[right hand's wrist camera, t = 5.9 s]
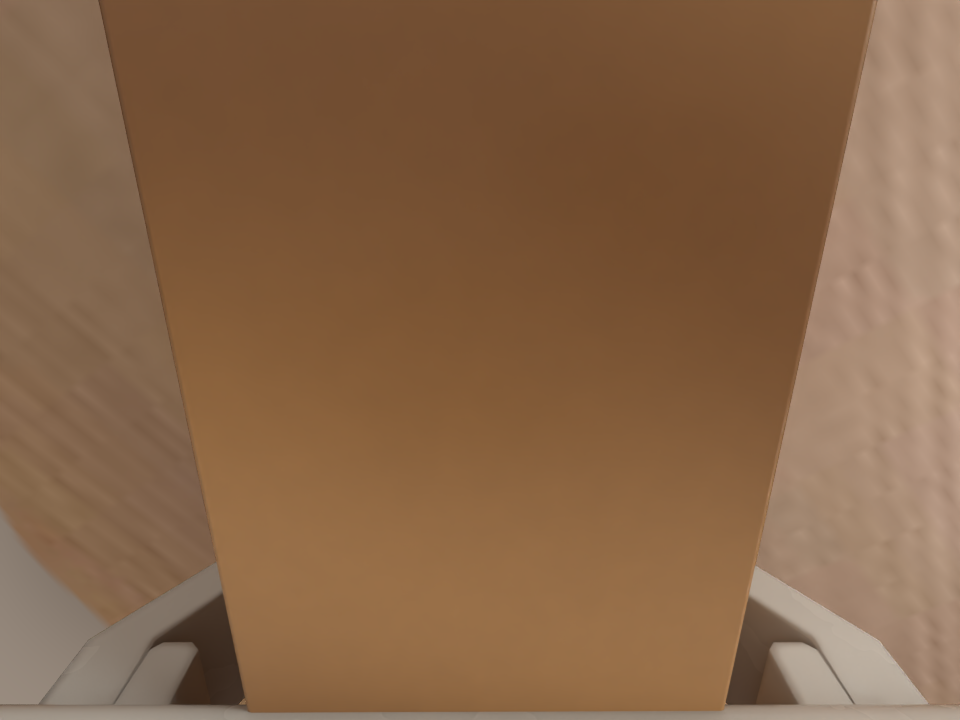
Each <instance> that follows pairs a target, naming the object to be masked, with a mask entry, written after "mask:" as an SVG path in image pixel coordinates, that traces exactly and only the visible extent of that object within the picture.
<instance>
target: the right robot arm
mask: <svg viewBox="0 0 960 720" xmlns="http://www.w3.org/2000/svg"><path fill="white" fill-rule="evenodd" d="M244 698H245V696H244V691H243V686H242V681H241V677H240V672H239V667H238V662H237V658H236V653H235V648H234V643H233V638H232V634H231V629H230V624H229V619H228V615H227V610H226V605H225V600H224V596H223V591H222V586H221V581H220V576H219V572H218V567H217V562H215V563H213V564H212V565H210V566H208V567H207V568H205V569H204V570H202V571H200V572H199V573H197V574H195V575H194V576H192V577H190V578H189V579H187V580H186V581H184V582H182V583H181V584H179V585H177V586H176V587H174V588H172V589H171V590H169V591H167V592H166V593H164V594H163V595H161V596H159V597H158V598H156V599H154V600H153V601H151V602H149V603H148V604H146V605H145V606H143V607H141V608H140V609H138V610H136V611H135V612H133V613H131V614H130V615H128V616H127V617H125V618H123V619H122V620H120V621H118V622H117V623H115V624H113V625H112V626H110V627H108V628H107V629H105V630H104V631H102V632H100V633H99V634H97V635H95V636H94V637H92V638H90V639H89V640H88V641H87V642H86V644H85V645H84V646H83V647H82V649H81V650H80V651H79V653H78V654H77V655H76V657H75V658H74V659H73V660H72V662H71V663H70V664H69V666H68V667H67V668H66V669H65V671H64V672H63V673H62V675H61V676H60V677H59V678H58V680H57V681H56V682H55V684H54V685H53V686H52V688H51V689H50V690H49V691H48V693H47V694H46V695H45V697H44V698H43V699H42V700H41V702H40V703H39V704H38V705H0V720H960V704H929V703H928V702H927V701H926V700H925V698H924V697H923V696H922V695H921V693H920V692H919V691H918V689H917V688H916V687H915V686H914V684H913V683H912V682H911V680H910V679H909V678H908V677H907V675H906V674H905V673H904V672H903V670H902V669H901V668H900V666H899V665H898V664H897V663H896V661H895V660H894V659H893V657H892V656H891V655H890V654H889V652H888V651H887V650H886V649H885V647H884V646H883V645H882V643H881V642H880V641H879V640H877V639H876V638H874V637H873V636H871V635H869V634H868V633H866V632H864V631H863V630H861V629H859V628H858V627H856V626H854V625H853V624H851V623H849V622H848V621H846V620H845V619H843V618H841V617H840V616H838V615H836V614H835V613H833V612H831V611H830V610H828V609H826V608H825V607H823V606H821V605H820V604H818V603H816V602H815V601H813V600H812V599H810V598H808V597H807V596H805V595H803V594H802V593H800V592H798V591H797V590H795V589H793V588H792V587H790V586H788V585H787V584H785V583H784V582H782V581H780V580H779V579H777V578H775V577H774V576H772V575H770V574H769V573H767V572H765V571H764V570H762V569H760V568H759V567H757V566H755V569H754V573H753V578H752V583H751V587H750V592H749V596H748V601H747V606H746V610H745V615H744V620H743V624H742V629H741V633H740V638H739V643H738V647H737V652H736V656H735V661H734V666H733V670H732V675H731V680H730V684H729V689H728V693H727V698H726V703H727V704H728V705H725V707H724V710H722V711H570V712H302V713H251V712H248V710H247V705H238V704H239V703H240V702H241V701H242V700H243V699H244Z"/></svg>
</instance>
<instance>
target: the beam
mask: <svg viewBox="0 0 960 720" xmlns="http://www.w3.org/2000/svg"><path fill="white" fill-rule="evenodd" d="M99 5H100V9H101V14H102V19H103V24H104V28H105V33H106V38H107V43H108V48H109V52H110V57H111V62H112V67H113V71H114V76H115V81H116V86H117V90H118V95H119V100H120V105H121V109H122V114H123V119H124V124H125V129H126V133H127V138H128V143H129V148H130V152H131V157H132V162H133V167H134V171H135V176H136V181H137V186H138V191H139V195H140V200H141V205H142V210H143V214H144V219H145V224H146V229H147V233H148V238H149V243H150V248H151V252H152V257H153V262H154V267H155V272H156V276H157V281H158V286H159V291H160V295H161V300H162V305H163V310H164V314H165V319H166V324H167V329H168V333H169V338H170V343H171V348H172V353H173V357H174V362H175V367H176V372H177V376H178V381H179V386H180V391H181V395H182V400H183V405H184V410H185V414H186V419H187V424H188V429H189V434H190V438H191V443H192V448H193V453H194V457H195V462H196V467H197V472H198V476H199V481H200V486H201V491H202V495H203V500H204V505H205V510H206V515H207V519H208V524H209V529H210V534H211V538H212V543H213V548H214V553H215V557H216V562H217V567H218V572H219V576H220V581H221V586H222V591H223V596H224V600H225V605H226V610H227V615H228V619H229V624H230V629H231V634H232V638H233V643H234V648H235V653H236V658H237V662H238V667H239V672H240V677H241V681H242V686H243V691H244V696H245V700H246V705H247V710H248V712H251V713H302V712H570V711H722V710H724V707H725V703H726V698H727V693H728V689H729V684H730V680H731V675H732V670H733V666H734V661H735V656H736V652H737V647H738V643H739V638H740V633H741V629H742V624H743V620H744V615H745V610H746V606H747V601H748V596H749V592H750V587H751V583H752V578H753V573H754V569H755V564H756V559H757V555H758V550H759V546H760V541H761V536H762V532H763V527H764V523H765V518H766V513H767V509H768V504H769V499H770V495H771V490H772V486H773V481H774V476H775V472H776V467H777V462H778V458H779V453H780V449H781V444H782V439H783V435H784V430H785V425H786V421H787V416H788V412H789V407H790V402H791V398H792V393H793V389H794V384H795V379H796V375H797V370H798V365H799V361H800V356H801V352H802V347H803V342H804V338H805V333H806V328H807V324H808V319H809V315H810V310H811V305H812V301H813V296H814V291H815V287H816V282H817V278H818V273H819V268H820V264H821V259H822V255H823V250H824V245H825V241H826V236H827V231H828V227H829V222H830V218H831V213H832V208H833V204H834V199H835V194H836V190H837V185H838V181H839V176H840V171H841V167H842V162H843V157H844V153H845V148H846V144H847V139H848V134H849V130H850V125H851V121H852V116H853V111H854V107H855V102H856V97H857V93H858V88H859V84H860V79H861V74H862V70H863V65H864V60H865V56H866V51H867V47H868V42H869V37H870V33H871V28H872V23H873V19H874V14H875V10H876V5H877V0H99Z"/></svg>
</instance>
